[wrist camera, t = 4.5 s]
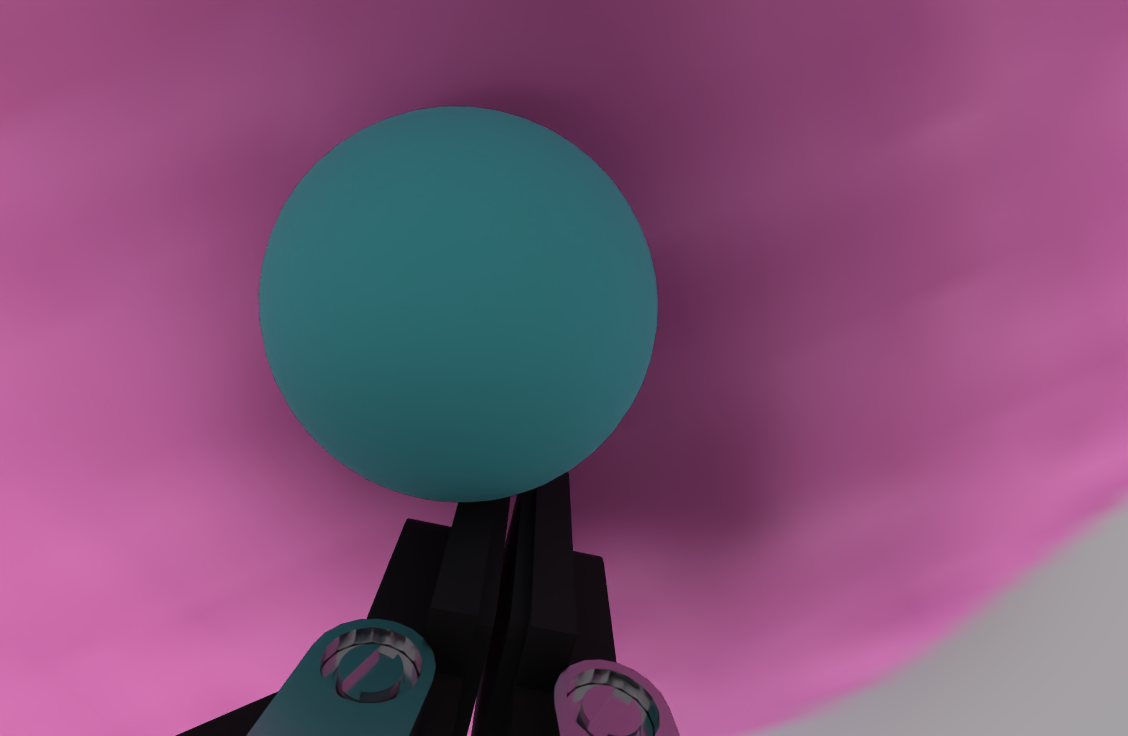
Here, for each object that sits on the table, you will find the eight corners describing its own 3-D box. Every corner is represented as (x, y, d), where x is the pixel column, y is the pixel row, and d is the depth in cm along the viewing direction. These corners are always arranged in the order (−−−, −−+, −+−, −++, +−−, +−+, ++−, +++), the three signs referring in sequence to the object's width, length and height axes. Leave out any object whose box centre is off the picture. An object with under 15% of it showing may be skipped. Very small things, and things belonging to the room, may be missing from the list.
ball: (326, 381, 12) (351, 82, 10) (599, 430, 12) (667, 150, 10) (166, 549, 7) (165, 33, 5) (626, 621, 7) (758, 161, 6)
